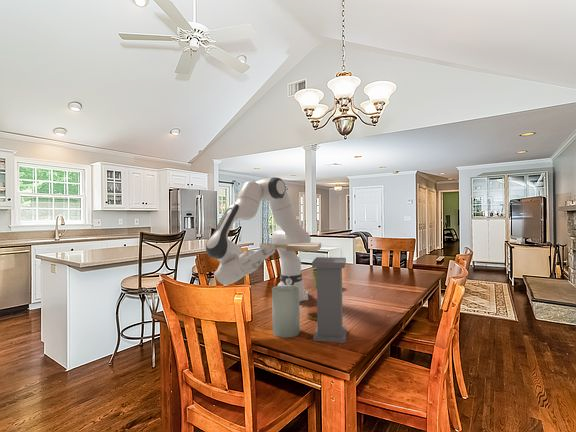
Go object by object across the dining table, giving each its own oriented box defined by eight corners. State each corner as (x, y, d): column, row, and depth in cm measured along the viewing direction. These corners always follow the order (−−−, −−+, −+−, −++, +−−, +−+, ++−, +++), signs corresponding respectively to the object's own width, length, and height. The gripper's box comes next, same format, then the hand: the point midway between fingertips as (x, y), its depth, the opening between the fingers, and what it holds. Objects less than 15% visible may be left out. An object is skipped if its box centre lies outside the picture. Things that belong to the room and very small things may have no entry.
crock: (276, 326, 134) (276, 284, 134) (302, 328, 132) (301, 285, 132) (269, 336, 124) (268, 291, 123) (296, 338, 121) (296, 292, 121)
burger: (305, 320, 141) (305, 310, 141) (309, 313, 150) (309, 304, 150) (327, 322, 139) (327, 311, 139) (330, 315, 148) (330, 305, 148)
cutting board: (265, 246, 135) (265, 242, 135) (321, 247, 130) (321, 242, 130) (256, 250, 123) (256, 245, 123) (317, 251, 118) (317, 246, 118)
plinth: (317, 328, 131) (316, 257, 130) (346, 330, 128) (345, 257, 128) (313, 340, 119) (312, 262, 119) (345, 343, 116) (344, 262, 116)
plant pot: (309, 285, 204) (309, 268, 204) (327, 284, 207) (327, 267, 206) (314, 290, 193) (314, 272, 193) (333, 289, 195) (332, 271, 195)
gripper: (236, 258, 121) (265, 241, 118) (253, 251, 141) (279, 236, 138) (244, 273, 120) (274, 255, 117) (260, 263, 140) (286, 248, 137)
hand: (277, 245), depth 128 cm, fingers closed on cutting board, 4 cm apart
